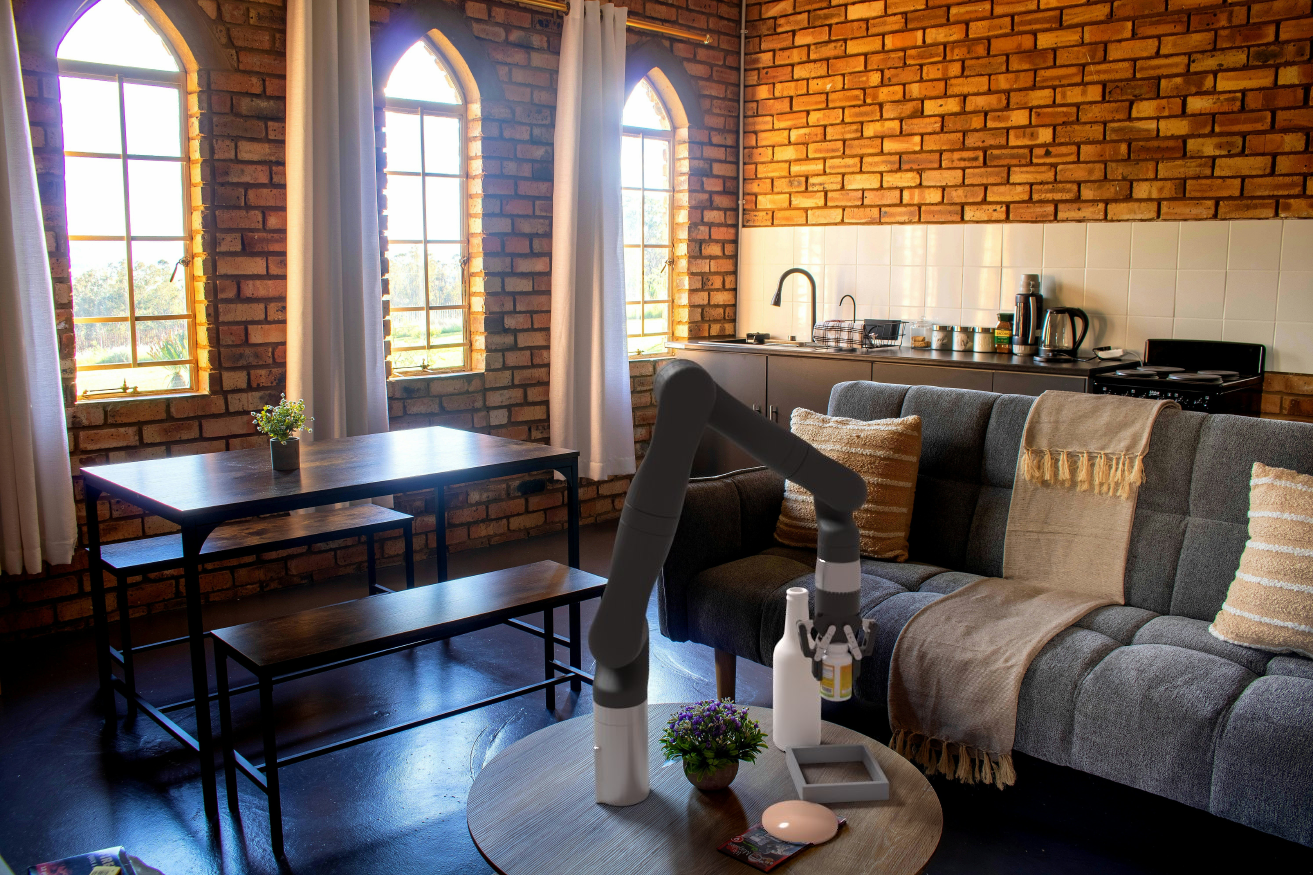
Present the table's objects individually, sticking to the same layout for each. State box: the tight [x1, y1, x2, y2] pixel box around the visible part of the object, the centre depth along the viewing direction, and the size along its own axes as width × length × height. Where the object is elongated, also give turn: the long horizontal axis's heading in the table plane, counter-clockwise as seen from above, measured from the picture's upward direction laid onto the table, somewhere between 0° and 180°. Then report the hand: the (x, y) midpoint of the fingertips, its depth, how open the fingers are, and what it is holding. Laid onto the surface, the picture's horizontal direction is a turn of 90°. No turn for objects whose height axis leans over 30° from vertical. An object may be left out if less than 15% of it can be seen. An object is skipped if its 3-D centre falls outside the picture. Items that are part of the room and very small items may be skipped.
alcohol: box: [772, 586, 822, 753], centre depth 186 cm, size 9×9×30 cm
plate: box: [761, 799, 839, 845], centre depth 161 cm, size 12×12×1 cm
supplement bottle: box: [820, 641, 853, 702], centre depth 172 cm, size 5×5×10 cm
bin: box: [785, 742, 890, 804], centre depth 175 cm, size 15×15×3 cm
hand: (835, 678), depth 172 cm, fingers closed on supplement bottle, 5 cm apart
